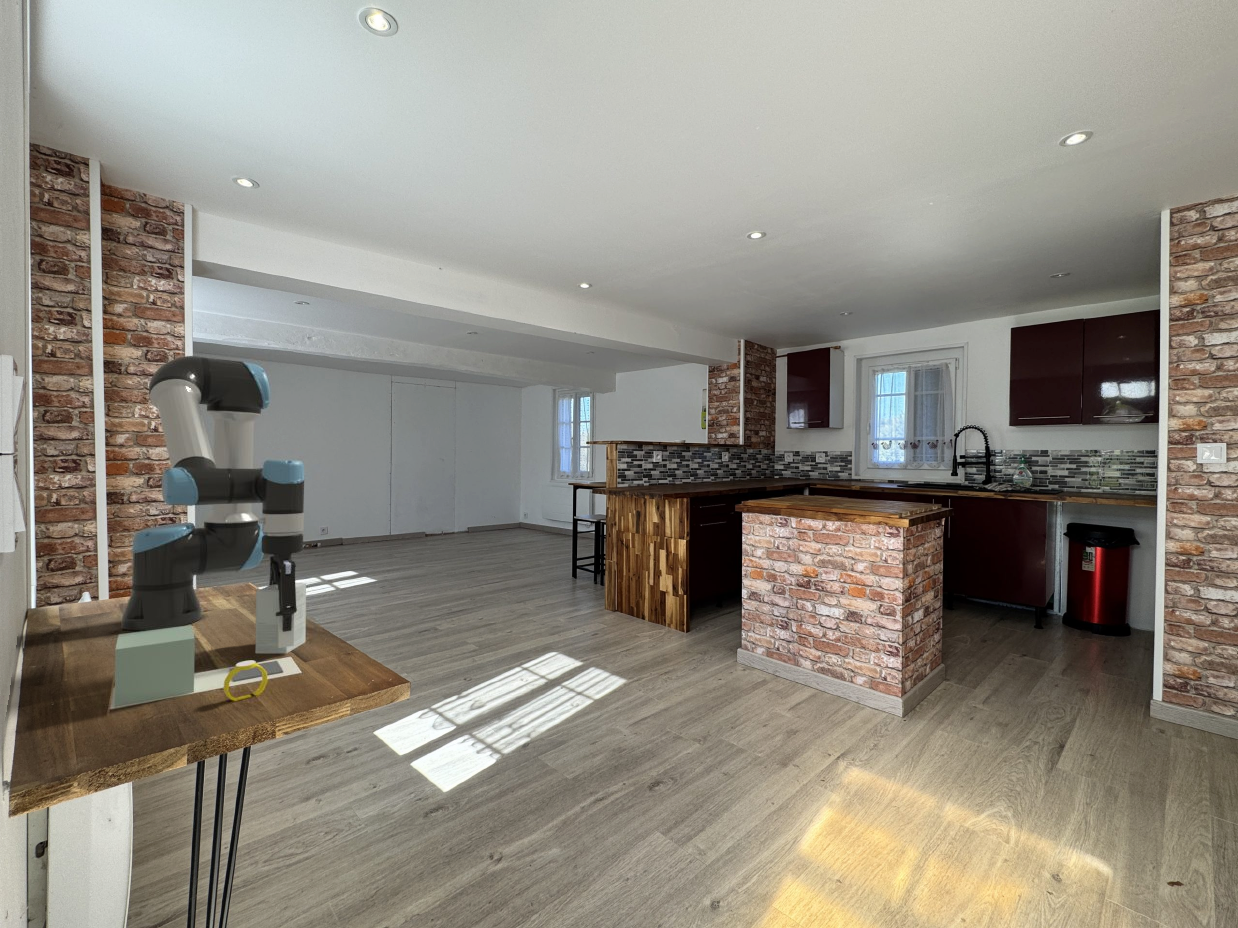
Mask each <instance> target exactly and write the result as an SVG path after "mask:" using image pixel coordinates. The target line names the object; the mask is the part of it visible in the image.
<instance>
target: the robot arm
mask: <svg viewBox="0 0 1238 928" xmlns="http://www.w3.org/2000/svg"><path fill="white" fill-rule="evenodd" d="M148 395H149V400H150V402H151V404H152V405H153V406H154V407H155V408H156V409H157V410H158V414H159V415H158V416H159V419H160V425H161V427H162V433H163V436H164V441H165V445H166V446H165V447H166V449H167V455H168V458H169V463H170V467H171V468H166V469H165V470H164V471H163V473H162V477H161V493H162V494H161V495H162V499H163V501H164V503H165V504H167V505H169V506H187V507H188V506H189V507H191V506H205V505H206V506H207V505H211V513H210V514H209V515H208V516H207V517H206V518H205V519H204V520H203V527H197V528H196V526H195V524H194V523H193V522H181V523H169V524H163V525H157V526H152V527H147V528H144V529H140V530H139V531H137V532H136V533H135V534H134V535H133V538H132V540H133V541H132V549H131V551H130V552H131V554H132V569H131V571H132V572H131V573H132V574H131V575H132V576H131V594H130V597H129V599H128V601H127V603H126V606H125V608H124V611H123V614H122V616H121V621H120V622H121V624H120V627H121V629H123V630H128V631H150V630H157V629H165V628H173V627H180V626H186V625H190V624H192V623H195V622H197V621H199V620H201V619H202V612H203V611H202V607H201V604H200V601H199V599H198V597H197V593H196V591H195V588H194V576H199V575H201V576H202V575H208V574H209V575H210V574H218V573H229V572H236V573H237V572H240V571H245V570H251V569H254V568H256V567H257V566H259V565H260V563H261V561H262V559H263V557H264V555H270V557H269V560H270V562H269V567H270V569H269V584H268V586H271V585H275V584H277V585H278V590H279V609H280V612H276V616H278V648H283V647H289V646H294V613H296V611H297V608H296V587H295V583H296V567H297V566H296V562H295V561H294V560H292V554H296V553H301V552H302V551H303V550H304V534H303V533H301V532H303V531H305V529H304V528H305V527H304V524H305V522H304V521H305V512H304V507H305V505H304V504H305V502H304V501H305V480H306V475H305V466H304V463H303V461H301V460H298V459H297V460H296V459H294V460H293V459H267V460H265V461H264V462H263V465H262V467H260V468H259V467H258V468H254V466H253V465H254V464H253V463H254V435H255V434H254V429H255V428H254V427H255V425H254V424H255V421H256V420H257V419H258V418H259V417H261V415H262V410H265V409H268V407H269V404H270V399H271V389H270V383H269V379H268V375H267V373H266V371H265V369H263V367H261V366H260V365H258V364H255V363H250V362H247V361H246V362H245V361H237V360H230V359H220V358H212V357H211V358H209V357H203V356H199V355H197V356H196V355H186V356H179V357H177V358H176V357H175V358H173V359H172V360H168V361H167V362H166V363H163V364H162V365H161V366H160V367H159V368H158V369H157V370H156V371H155V372H154V374H153V375H152V377H151V378H150V382H149V383H148ZM200 405H206V413H207V414H208V415H209V416H210V417H211V418H212V419H213V447H211V445H210V444H211V443H210V440H209V435H208V432H207V429H206V426H205V422H204V419H203V415H202V412H201V409H200ZM212 448H213V450H212ZM253 504H261V505H262V507H261V508H262V509H261V510H262V511H261V513H262V517H261V518H259V517H257V516H256V515H255V514H254V513H253V512H252V510H253V509H252V506H253ZM288 606H290V607H288ZM285 607H287V608H285Z"/></svg>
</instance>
